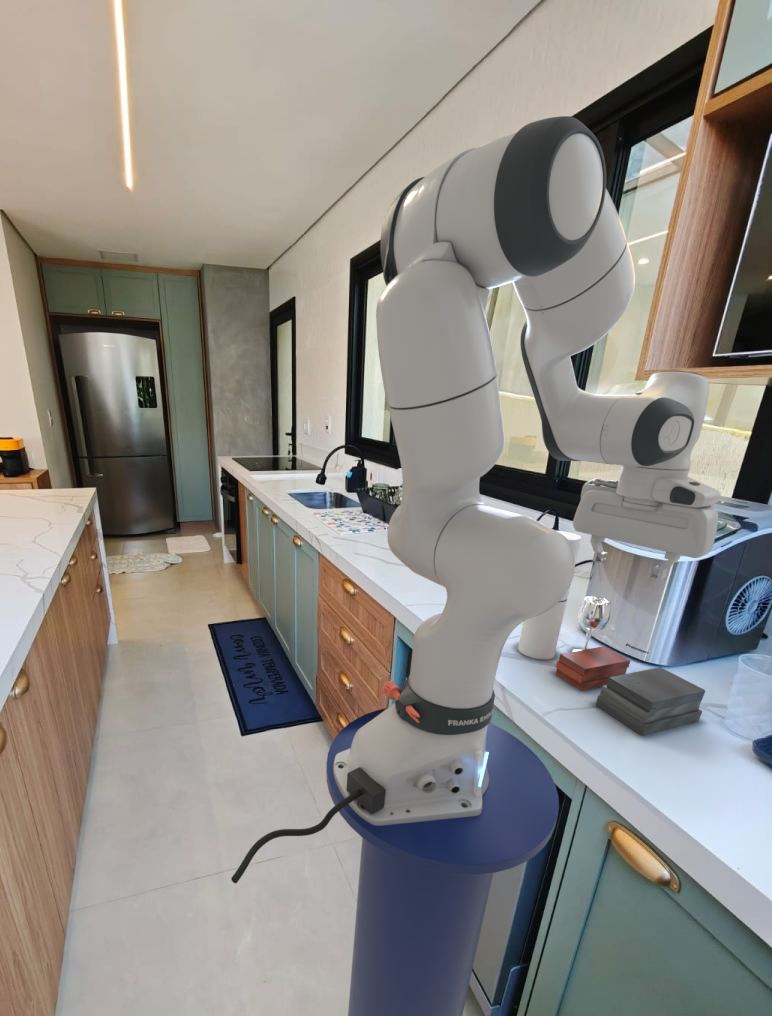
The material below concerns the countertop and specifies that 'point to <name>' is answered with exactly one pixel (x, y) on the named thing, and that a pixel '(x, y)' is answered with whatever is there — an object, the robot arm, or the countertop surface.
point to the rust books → (586, 677)
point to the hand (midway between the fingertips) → (627, 569)
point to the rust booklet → (594, 660)
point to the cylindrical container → (546, 621)
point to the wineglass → (593, 616)
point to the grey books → (651, 700)
